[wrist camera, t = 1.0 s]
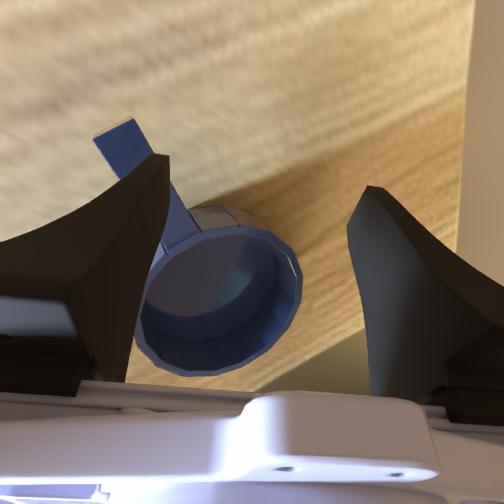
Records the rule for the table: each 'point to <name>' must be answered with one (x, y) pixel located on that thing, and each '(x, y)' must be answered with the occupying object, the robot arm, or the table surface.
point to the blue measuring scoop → (207, 278)
